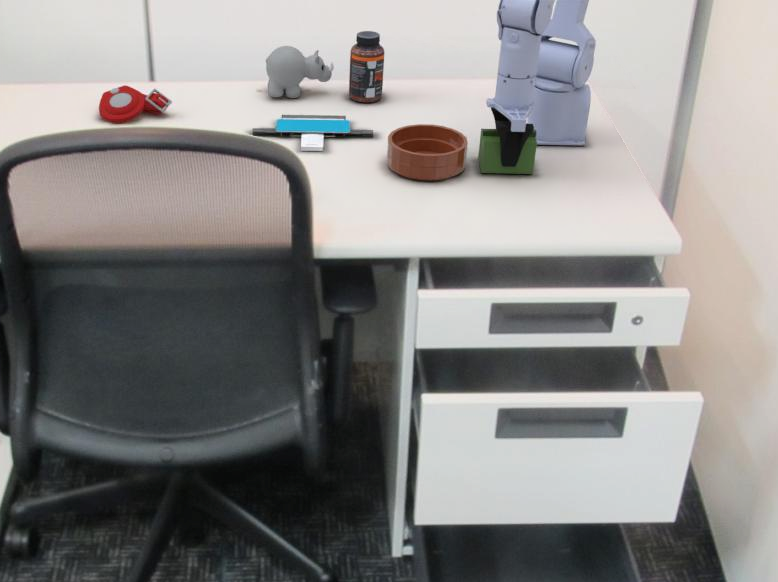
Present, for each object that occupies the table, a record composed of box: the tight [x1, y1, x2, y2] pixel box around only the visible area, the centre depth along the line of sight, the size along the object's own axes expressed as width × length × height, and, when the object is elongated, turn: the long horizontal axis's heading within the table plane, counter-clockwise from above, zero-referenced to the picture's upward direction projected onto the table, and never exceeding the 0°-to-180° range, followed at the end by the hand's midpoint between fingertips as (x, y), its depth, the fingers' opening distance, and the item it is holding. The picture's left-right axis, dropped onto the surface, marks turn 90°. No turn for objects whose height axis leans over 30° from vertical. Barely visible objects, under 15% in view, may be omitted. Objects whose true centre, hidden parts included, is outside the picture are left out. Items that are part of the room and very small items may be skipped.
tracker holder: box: [98, 84, 173, 124], centre depth 192 cm, size 12×4×10 cm
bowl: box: [386, 123, 468, 182], centre depth 174 cm, size 12×12×4 cm
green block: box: [477, 128, 538, 175], centre depth 173 cm, size 8×5×6 cm, turn 88°
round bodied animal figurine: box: [265, 45, 334, 99], centre depth 198 cm, size 7×12×8 cm, turn 92°
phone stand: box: [251, 114, 374, 152], centre depth 184 cm, size 20×12×2 cm, turn 89°
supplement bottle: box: [348, 30, 385, 103], centre depth 196 cm, size 6×6×11 cm
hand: (506, 158), depth 174 cm, fingers closed on green block, 5 cm apart
